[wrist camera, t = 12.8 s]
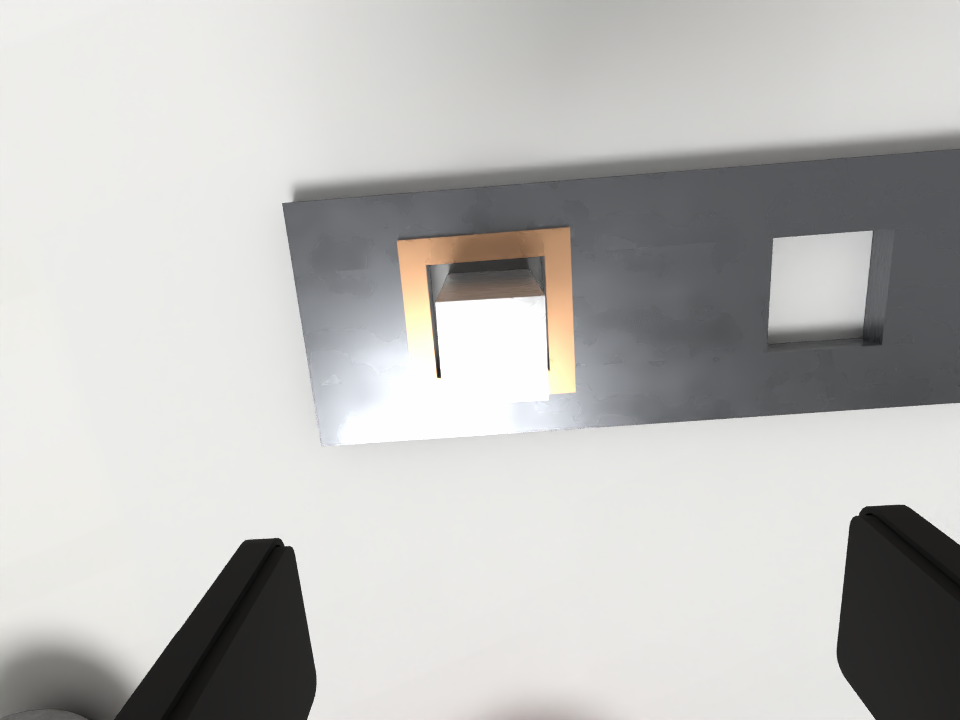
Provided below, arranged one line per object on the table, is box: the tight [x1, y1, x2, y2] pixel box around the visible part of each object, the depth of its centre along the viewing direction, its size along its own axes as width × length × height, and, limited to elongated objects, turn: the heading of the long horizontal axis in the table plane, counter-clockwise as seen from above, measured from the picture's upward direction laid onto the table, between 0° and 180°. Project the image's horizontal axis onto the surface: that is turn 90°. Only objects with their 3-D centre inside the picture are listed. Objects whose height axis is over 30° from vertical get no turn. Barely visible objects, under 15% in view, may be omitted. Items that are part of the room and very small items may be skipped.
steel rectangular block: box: [435, 269, 548, 406], centre depth 26 cm, size 4×4×8 cm
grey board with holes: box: [282, 149, 960, 446], centre depth 29 cm, size 34×12×2 cm, turn 94°
